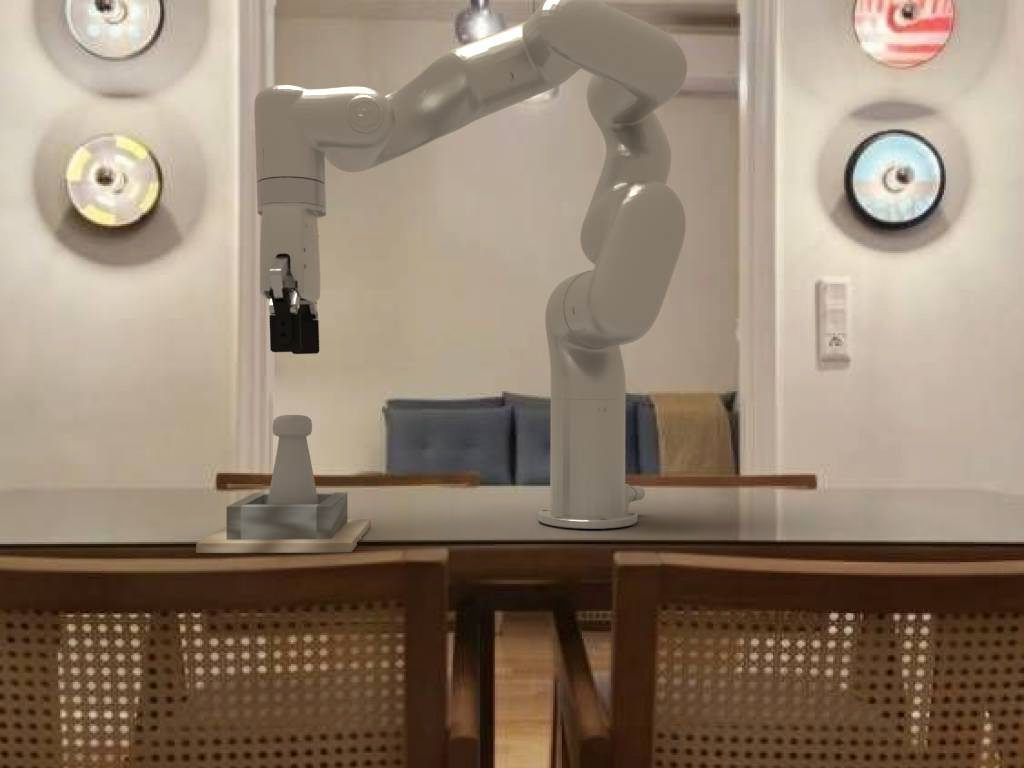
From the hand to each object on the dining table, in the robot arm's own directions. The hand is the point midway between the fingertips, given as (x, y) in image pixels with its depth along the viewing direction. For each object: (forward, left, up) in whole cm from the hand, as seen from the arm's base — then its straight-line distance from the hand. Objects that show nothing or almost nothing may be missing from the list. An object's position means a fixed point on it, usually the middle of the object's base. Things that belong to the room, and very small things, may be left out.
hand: (296, 352), depth 95 cm
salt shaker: (0, 0, -20) cm, 20 cm away
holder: (+1, 0, -21) cm, 21 cm away
